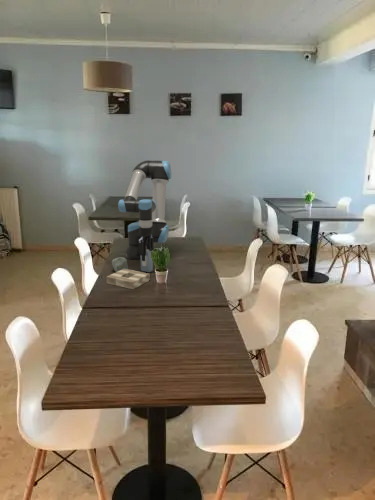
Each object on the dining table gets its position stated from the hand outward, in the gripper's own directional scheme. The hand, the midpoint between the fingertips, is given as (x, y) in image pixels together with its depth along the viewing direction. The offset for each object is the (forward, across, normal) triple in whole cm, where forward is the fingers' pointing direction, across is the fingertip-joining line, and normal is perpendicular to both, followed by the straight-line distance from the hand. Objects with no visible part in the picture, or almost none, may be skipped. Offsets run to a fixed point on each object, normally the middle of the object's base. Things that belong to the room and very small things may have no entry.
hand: (146, 264), depth 249 cm
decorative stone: (+5, +6, -16) cm, 18 cm away
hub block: (+5, +18, 0) cm, 19 cm away
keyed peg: (+4, 0, 0) cm, 4 cm away
